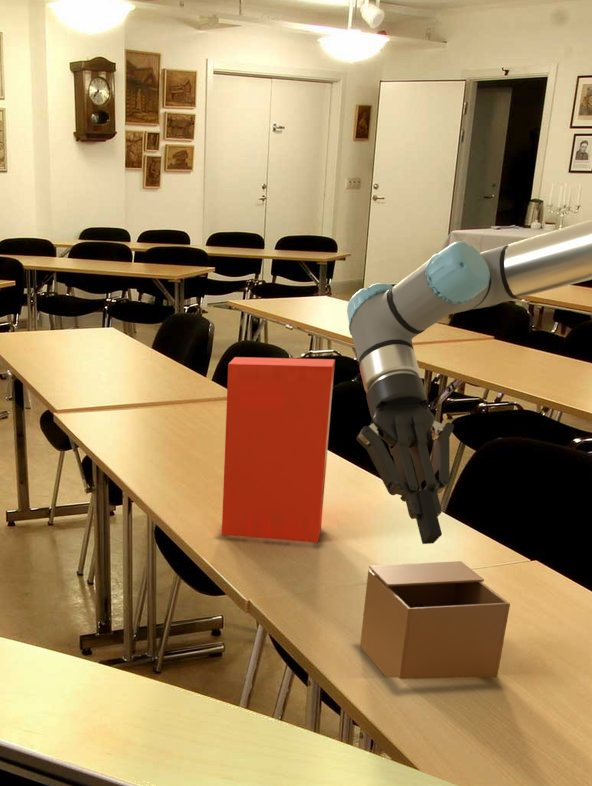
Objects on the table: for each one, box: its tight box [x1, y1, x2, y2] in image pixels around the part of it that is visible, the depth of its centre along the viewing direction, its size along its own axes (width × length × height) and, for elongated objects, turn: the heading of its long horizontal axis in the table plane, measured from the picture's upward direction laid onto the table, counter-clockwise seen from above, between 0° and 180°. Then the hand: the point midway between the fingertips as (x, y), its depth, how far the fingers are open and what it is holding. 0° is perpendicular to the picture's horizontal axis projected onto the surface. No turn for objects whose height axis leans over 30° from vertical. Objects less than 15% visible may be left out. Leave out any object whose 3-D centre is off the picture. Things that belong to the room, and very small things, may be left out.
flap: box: [368, 560, 485, 586], centre depth 119 cm, size 6×13×1 cm, turn 94°
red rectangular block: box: [221, 356, 336, 544], centre depth 163 cm, size 8×17×32 cm, turn 71°
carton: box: [359, 569, 511, 680], centre depth 119 cm, size 13×13×11 cm
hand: (432, 539), depth 117 cm, fingers closed
